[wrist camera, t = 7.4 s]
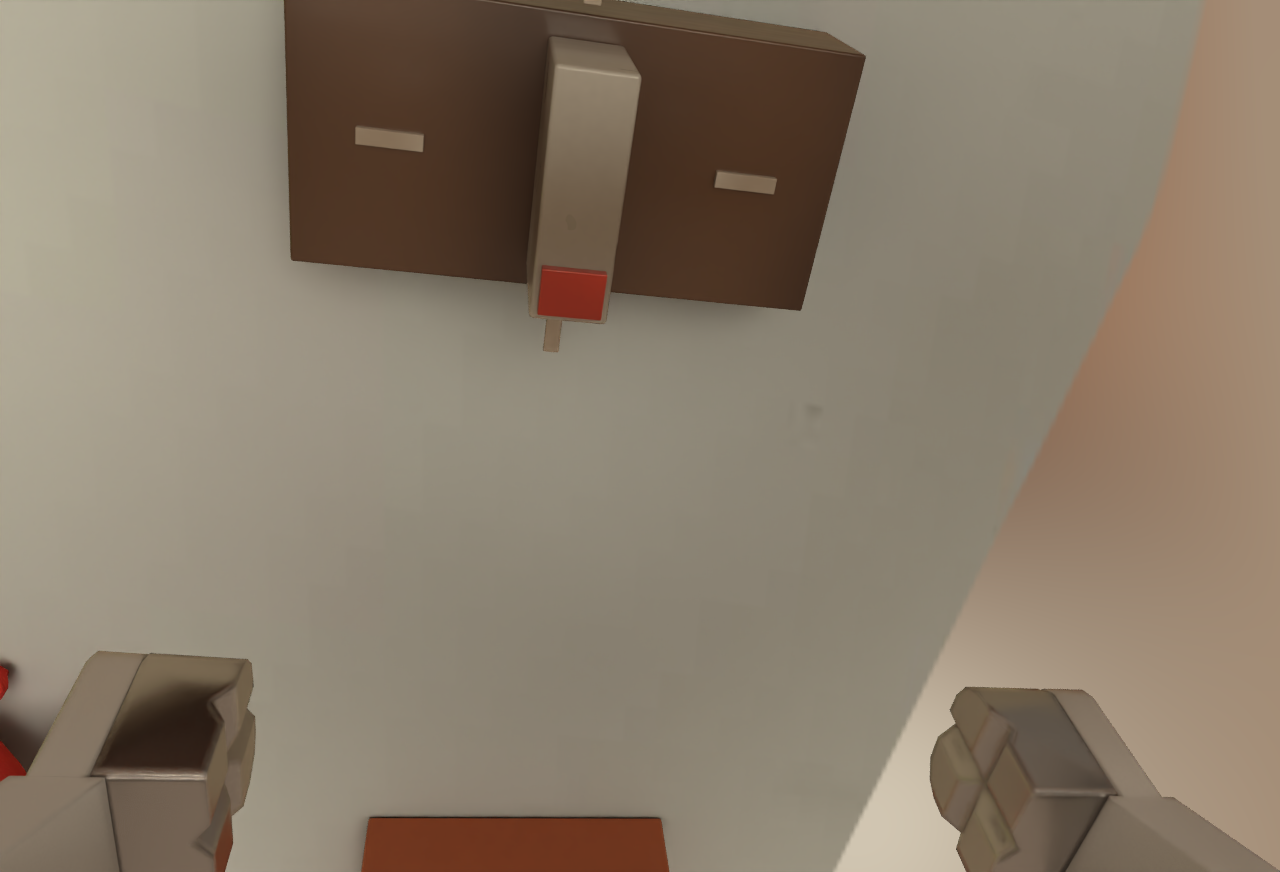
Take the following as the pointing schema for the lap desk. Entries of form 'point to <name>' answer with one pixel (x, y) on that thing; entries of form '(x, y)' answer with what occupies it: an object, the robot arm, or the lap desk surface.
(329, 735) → the lap desk surface
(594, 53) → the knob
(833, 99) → the panel
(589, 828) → the orange knob box
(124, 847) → the robot arm
